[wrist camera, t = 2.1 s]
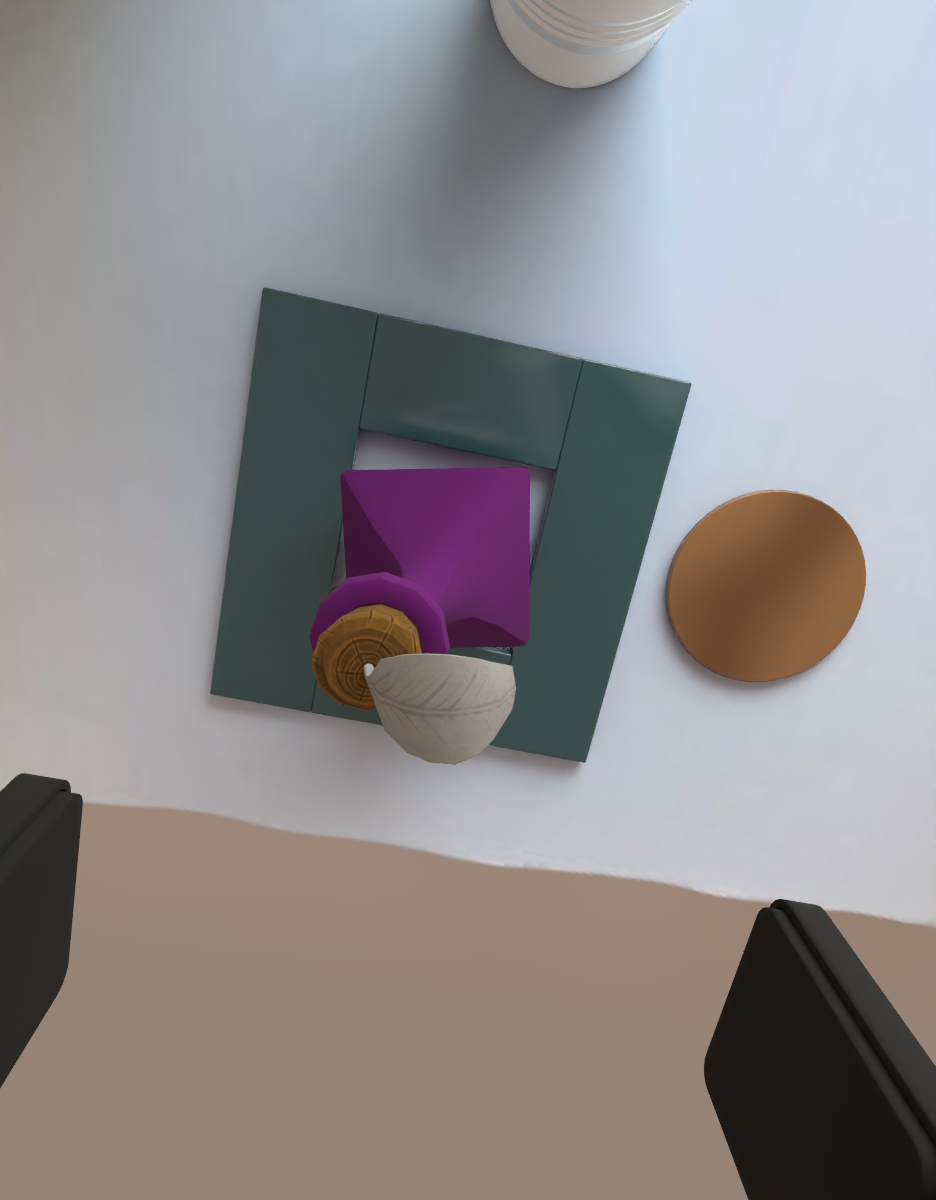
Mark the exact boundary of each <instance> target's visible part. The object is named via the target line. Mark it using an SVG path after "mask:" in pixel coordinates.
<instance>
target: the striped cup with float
mask: <svg viewBox="0 0 936 1200" xmlns="http://www.w3.org/2000/svg"><path fill="white" fill-rule="evenodd" d="M690 2H691V0H490V3H491V8H492V12H493V16H494V19H495V22H496V25H497V28H498V30H499V32H500V35H501V37H502V38H503V40H504V42H505V44H506V46H507V47H508V49H509V50H510V51H511V53H512V54H513V55H514V57H515V58H516V59H517V60H518V61H519V62H520V63H521V64H522V65H523V66H524V67H525V68H526V69H528V70H529V71H530V72H531V73H533V74H534V75H536V76H537V77H539V78H541V79H543V80H545V81H547V82H550V83H552V84H555V85H559V86H563V87H569V88H587V87H594V86H599V85H602V84H605V83H608V82H610V81H612V80H614V79H616V78H618V77H620V76H622V75H623V74H625V73H626V72H628V71H629V70H631V69H632V68H633V67H634V66H636V65H637V64H638V63H639V62H640V61H641V60H642V59H643V58H644V57H645V56H646V55H647V53H648V52H649V51H650V50H651V48H652V47H653V46H654V44H655V43H656V42H657V41H658V39H659V38H660V37H661V36H662V34H663V33H664V32H665V30H666V29H667V28H668V27H669V25H670V24H671V23H672V22H673V20H674V19H675V18H676V17H677V16H678V15H679V14H680V13H681V12H682V11H683V10H684V8H685V7H686V6H687V5H688V4H689V3H690Z"/></svg>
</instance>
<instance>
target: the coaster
mask: <svg viewBox="0 0 936 1200" xmlns="http://www.w3.org/2000/svg"><path fill="white" fill-rule="evenodd" d="M865 585H866V569H865V560H864V556H863V552H862V548H861V546H860V543H859V541H858V539H857V536H856V535H855V533H854V532H853V530H852V528H851V527H850V525H849V524H848V523H847V522H846V521H845V519H844V518H843V517H842V516H841V515H840V514H839V513H837V512H836V511H835V510H834V509H833V508H831V507H830V506H828V505H827V504H825V503H823V502H822V501H819V500H817V499H815V498H813V497H810V496H808V495H804V494H801V493H797V492H792V491H785V490H766V491H758V492H753V493H749V494H745V495H742V496H739V497H737V498H734V499H732V500H730V501H728V502H726V503H724V504H722V505H720V506H718V507H717V508H716V509H714V510H713V511H711V512H710V513H708V514H707V515H706V516H705V517H704V518H703V519H701V520H700V521H699V522H698V523H697V524H696V525H695V526H694V528H693V529H692V530H691V531H690V532H689V533H688V535H687V536H686V538H685V539H684V541H683V542H682V543H681V545H680V547H679V549H678V551H677V553H676V555H675V557H674V560H673V562H672V565H671V568H670V572H669V576H668V581H667V592H666V597H667V609H668V614H669V618H670V621H671V624H672V627H673V630H674V632H675V634H676V635H677V637H678V639H679V641H680V642H681V644H682V645H683V646H684V648H685V649H686V650H687V651H688V652H689V653H690V655H691V656H692V657H693V658H694V659H695V660H697V661H698V662H699V663H700V664H702V665H703V666H704V667H706V668H708V669H709V670H711V671H713V672H715V673H717V674H719V675H722V676H724V677H727V678H731V679H735V680H741V681H748V682H764V681H772V680H777V679H782V678H786V677H789V676H792V675H794V674H797V673H800V672H802V671H804V670H806V669H808V668H810V667H811V666H813V665H814V664H816V663H817V662H819V661H820V660H822V659H823V658H824V657H825V656H827V655H828V654H829V653H830V652H831V651H832V650H833V649H834V648H835V647H836V646H837V645H838V644H839V643H840V642H841V641H842V639H843V638H844V637H845V636H846V634H847V633H848V631H849V630H850V628H851V626H852V625H853V623H854V621H855V619H856V617H857V615H858V612H859V610H860V607H861V604H862V600H863V597H864V591H865Z"/></svg>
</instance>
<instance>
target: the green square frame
mask: <svg viewBox="0 0 936 1200" xmlns="http://www.w3.org/2000/svg"><path fill="white" fill-rule="evenodd" d="M690 387H691V383H689V382H685V381H680V380H676V379H671V378H667V377H662V376H658V375H654V374H649V373H645V372H640V371H636V370H631V369H627V368H622V367H618V366H613V365H609V364H604V363H600V362H595V361H591V360H587V359H582V358H578V357H573V356H569V355H564V354H560V353H555V352H551V351H546V350H542V349H537V348H533V347H528V346H524V345H519V344H515V343H510V342H506V341H502V340H497V339H493V338H488V337H484V336H479V335H475V334H470V333H466V332H461V331H457V330H452V329H448V328H443V327H439V326H434V325H430V324H426V323H421V322H417V321H412V320H408V319H403V318H399V317H394V316H390V315H385V314H381V313H380V314H378V313H376V312H372V311H367V310H363V309H358V308H354V307H350V306H345V305H341V304H336V303H332V302H327V301H323V300H318V299H314V298H309V297H305V296H300V295H296V294H291V293H287V292H282V291H278V290H274V289H269V288H263V291H262V299H261V307H260V314H259V322H258V330H257V337H256V345H255V353H254V361H253V368H252V376H251V384H250V391H249V399H248V407H247V415H246V422H245V430H244V438H243V445H242V453H241V461H240V468H239V476H238V484H237V492H236V499H235V507H234V515H233V522H232V530H231V538H230V546H229V553H228V561H227V569H226V576H225V584H224V592H223V599H222V607H221V615H220V623H219V630H218V638H217V646H216V653H215V661H214V669H213V677H212V684H211V694H214V695H219V696H225V697H230V698H236V699H241V700H247V701H252V702H258V703H263V704H269V705H274V706H279V707H285V708H290V709H296V710H301V711H307V712H312V713H318V714H323V715H328V716H334V717H339V718H345V719H350V720H356V721H361V722H367V723H372V724H377V725H382V722H381V719H380V716H379V713H378V711H377V709H374V710H369V711H364V710H360V709H356V708H352V707H349V706H345V705H341V704H338V703H337V702H336V701H335V700H334V699H333V698H332V697H330V696H329V695H328V694H327V693H326V692H325V691H324V690H322V689H321V688H320V687H319V686H318V683H317V679H316V676H315V673H314V669H313V666H312V662H311V660H312V657H313V654H314V653H313V649H312V645H311V641H310V635H309V634H310V631H311V628H312V625H313V622H314V619H315V616H316V613H317V610H318V606H319V603H320V601H321V600H322V599H324V598H325V597H326V596H327V595H328V594H329V593H331V592H332V591H333V585H334V579H335V573H336V567H337V561H338V555H339V549H340V543H341V538H342V532H343V514H342V498H341V482H340V477H341V474H342V472H344V471H347V470H353V467H354V461H355V455H356V449H357V443H358V437H359V431H360V429H363V430H368V431H373V432H378V433H382V434H387V435H392V436H396V437H401V438H406V439H411V440H415V441H420V442H425V443H430V444H434V445H439V446H444V447H448V448H453V449H458V450H463V451H467V452H472V453H477V454H481V455H486V456H491V457H496V458H500V459H505V460H510V461H514V462H519V463H524V464H529V465H533V466H538V467H543V468H547V469H552V470H555V471H554V475H553V479H552V483H551V488H550V492H549V496H548V500H547V504H546V508H545V513H544V517H543V521H542V525H541V529H540V533H539V538H538V542H537V546H536V550H535V554H534V558H533V563H532V567H531V571H530V575H529V641H528V643H527V644H526V645H524V646H513V647H512V650H511V651H509V650H504V649H499V648H494V647H470V648H449V650H448V653H447V655H457V656H464V657H471V658H478V659H482V660H486V661H490V662H495V663H500V664H505V665H510V666H512V667H513V673H514V679H515V684H516V692H515V697H514V703H513V708H512V711H511V713H510V714H509V716H508V717H507V719H506V720H505V722H504V724H503V725H502V727H501V728H500V730H499V732H498V733H497V735H496V736H495V738H494V739H493V741H492V742H491V743H490V744H491V745H492V746H497V747H502V748H508V749H513V750H519V751H524V752H530V753H535V754H540V755H546V756H551V757H557V758H562V759H568V760H573V761H579V762H584V763H585V762H586V759H587V756H588V752H589V748H590V745H591V741H592V738H593V734H594V731H595V727H596V723H597V720H598V716H599V713H600V709H601V705H602V702H603V698H604V695H605V691H606V688H607V684H608V680H609V677H610V673H611V670H612V666H613V663H614V659H615V655H616V652H617V648H618V645H619V641H620V638H621V634H622V630H623V627H624V623H625V620H626V616H627V613H628V609H629V605H630V602H631V598H632V595H633V591H634V587H635V584H636V580H637V577H638V573H639V570H640V566H641V562H642V559H643V555H644V552H645V548H646V545H647V541H648V537H649V534H650V530H651V527H652V523H653V520H654V516H655V512H656V509H657V505H658V502H659V498H660V495H661V491H662V487H663V484H664V480H665V477H666V473H667V469H668V466H669V462H670V459H671V455H672V452H673V448H674V444H675V441H676V437H677V434H678V430H679V427H680V423H681V419H682V416H683V412H684V409H685V405H686V402H687V398H688V394H689V391H690ZM490 744H489V745H490Z"/></svg>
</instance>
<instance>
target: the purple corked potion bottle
mask: <svg viewBox="0 0 936 1200" xmlns="http://www.w3.org/2000/svg"><path fill="white" fill-rule="evenodd" d="M340 482H341V498H342V514H343V530H344V546H345V562H346V578H347V579H346V580H345V581H344V582H342V583H341V584H340V585H339V586H338V587H336V588H335V589H334V590H333V591H332V592H331V593H329V594H328V595H327V596H326V597H325V598H324V599H322V600H321V601H320V603H319V606H318V610H317V613H316V616H315V619H314V622H313V625H312V628H311V631H310V634H309V635H310V641H311V645H312V649H313V653H314V654H313V657H312V660H311V662H312V666H313V669H314V673H315V676H316V679H317V683H318V686H319V687H320V688H321V689H322V690H324V691H325V692H326V693H327V694H328V695H329V696H330V697H332V698H333V699H334V700H335V701H336V702H337V703H338V704H341V705H345V706H349V707H352V708H356V709H360V710H364V711H369V710H374V709H377V711H378V713H379V716H380V719H381V722H382V725H383V728H384V730H385V731H386V732H387V733H388V734H389V735H390V736H391V737H392V738H393V739H394V740H395V741H396V742H397V743H398V744H399V745H400V746H401V747H402V748H403V749H404V750H405V751H406V752H407V753H410V754H412V755H414V756H416V757H419V758H421V759H423V760H425V761H428V762H431V763H443V764H457V763H460V762H462V761H465V760H467V759H470V758H472V757H475V756H477V755H479V754H480V753H481V752H482V751H483V750H484V749H485V748H486V747H487V746H488V745H489V744H490V743H491V742H492V741H493V739H494V738H495V736H496V735H497V733H498V732H499V730H500V728H501V727H502V725H503V724H504V722H505V720H506V719H507V717H508V716H509V714H510V713H511V711H512V708H513V703H514V697H515V692H516V684H515V679H514V673H513V667H512V666H510V665H505V664H500V663H495V662H490V661H486V660H482V659H478V658H471V657H464V656H457V655H447V653H448V650H449V648H470V647H513V646H524V645H526V644H527V643H528V641H529V528H530V473H529V471H528V469H527V468H524V467H502V468H450V469H398V470H347V471H344V472H342V474H341V477H340Z"/></svg>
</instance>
